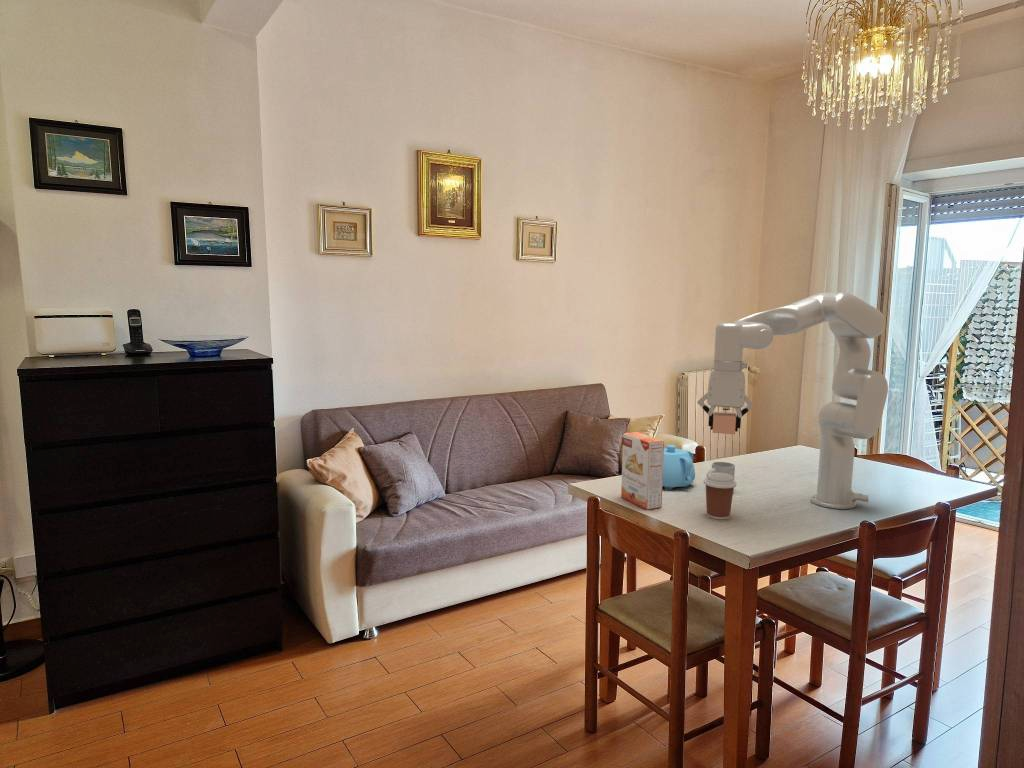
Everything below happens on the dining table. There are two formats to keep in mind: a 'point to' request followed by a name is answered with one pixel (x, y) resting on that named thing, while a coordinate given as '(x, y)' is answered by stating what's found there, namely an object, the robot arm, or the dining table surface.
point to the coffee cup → (719, 495)
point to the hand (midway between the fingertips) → (724, 429)
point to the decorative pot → (677, 467)
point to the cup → (722, 468)
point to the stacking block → (724, 423)
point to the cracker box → (642, 470)
